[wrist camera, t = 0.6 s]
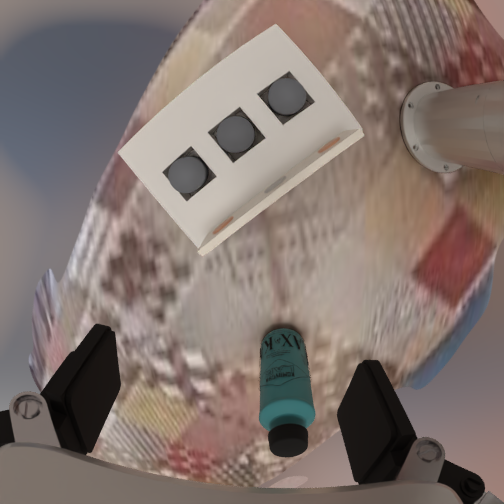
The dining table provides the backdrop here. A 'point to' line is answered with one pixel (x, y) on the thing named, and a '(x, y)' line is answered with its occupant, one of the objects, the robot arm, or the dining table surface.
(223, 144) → the button middle
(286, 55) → the button panel
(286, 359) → the beverage bottle
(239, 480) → the dining table surface
